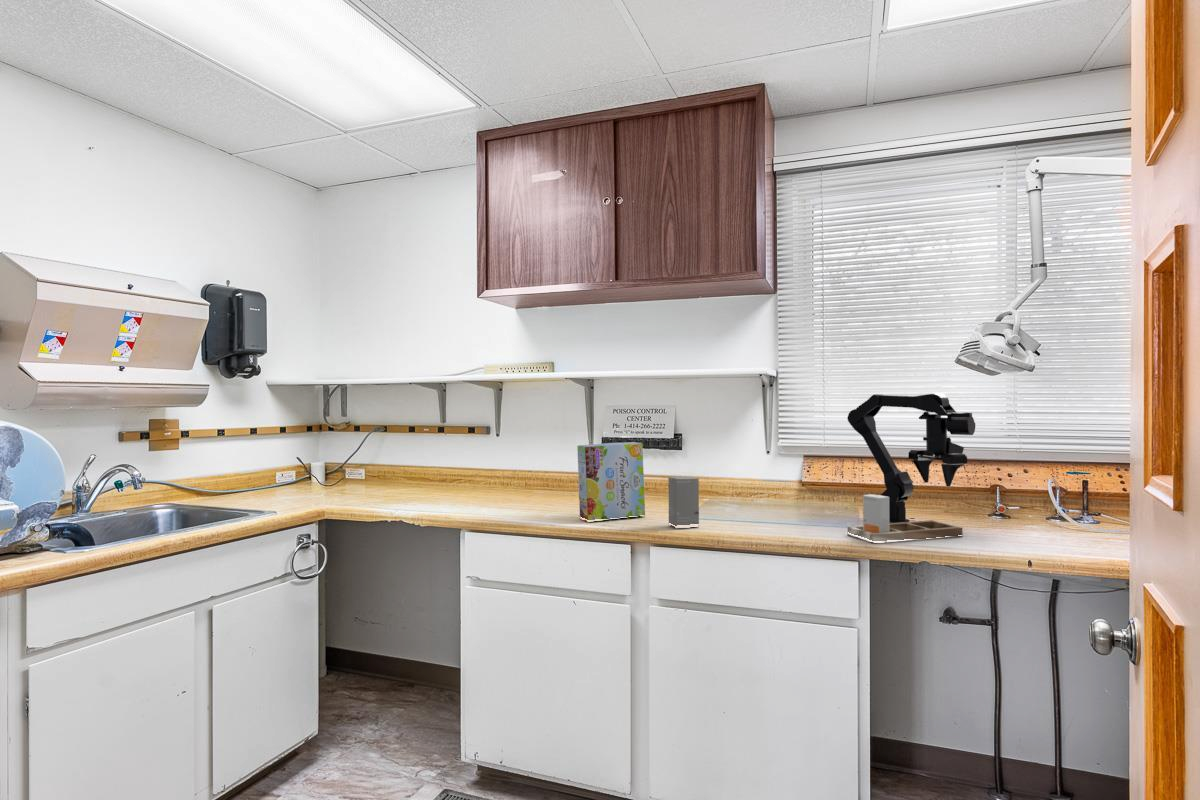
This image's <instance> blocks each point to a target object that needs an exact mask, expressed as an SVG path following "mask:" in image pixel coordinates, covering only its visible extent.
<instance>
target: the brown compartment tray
mask: <svg viewBox="0 0 1200 800" xmlns="http://www.w3.org/2000/svg"><path fill="white" fill-rule="evenodd" d="M889 525H890V532H883V533H870V532H867V531H864V530H863V524H862V525H851V526H850V525H849V526H847V527H846V528H847V533H848V532H849V533H851V534H854V535H858V536H861V537H864V538H867V539H869V540H872V541H887V540H904V539H926V538H936V537H945V536H958V535H963V533H964V532H963V527H961V526H957V525H953V524H950V523H949V524H948V523H946V522H941V521H937V520H931V519H929V520H917V521H903V522H889ZM926 540H927V539H926Z"/></svg>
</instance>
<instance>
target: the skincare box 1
mask: <svg viewBox="0 0 1200 800" xmlns="http://www.w3.org/2000/svg"><path fill="white" fill-rule="evenodd" d="M667 480H668V524H669V523H671V524H673V525H675V526H677V525H690V524H699V525H700V517H699V516H700V493H699V492H700V489H699V487H700V485H699V483H700V482H699V480H700V479H699V477H693V476H671V477H670V476H669V477H668V479H667Z"/></svg>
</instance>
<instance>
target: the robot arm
mask: <svg viewBox="0 0 1200 800" xmlns="http://www.w3.org/2000/svg"><path fill="white" fill-rule="evenodd" d="M882 407H888V408H889V407H891V408H892V407H895V408H897V407H898V408H910V409H911V408H912V409H916V410H920V411H923V413H922V414H921V415H920V416H918V419H919V420H925V429H926V431H925V435H926V436H923V437H922V438H923V439H922V440H923V441H925V442H926V444H925V447H926V449H921V448H920V449H911V450H910V451H908V459H909V460H911V462H912V463H913V464H914V466H915V468H916V469H917V471H918V472H919V474H920V476H921V478H922V480H923V482H924V483H929V480H930V465H931V464H932V462H933V460H937V461H941V462H942V463H941V464H940V465H941V470H942V474H943V479H944V483H945V486H946V487H950V486H952V483H953V479H954V477H955V475H956V473H957V470H958V469H960V468H961V467H964V465H965V464H968V456H967V455H966V454H965V453H963V452H964V450H965V447H964V446H961V445H960V444H956V443H954V442H952V439H951V437H948V432H949V434H950V435H955V436H961V435H962V436H973V435H974V434H975V432H976V422H975V419H974V417H973V412H969V411H968V412H957V411H956V410H955V409H954V408H953V406H952V405H951V404H950V400H949V397H947V396H946V394H945V393H927V394H922V395H920V394H919V395H894V394H893V395H890V394H887V395H886V394H880V393H878V394H872V395H870V397H869V398H868V399H866V400H865V401H864V402H863V403H861V404H860V405H858V406H857V407H856V408H854V409H851V410H850V411H849V413H848V415H847V417H846V418H847V423H849V425H850V426H851V427H852V429H853V430H854V431H855V432H857V433H858V435H860V436H862V438H863V440H864V441H865V443H866V445H867V447H868V449H869V451H870V452H871V454H872V457H874V460H875V461H876V463H877V465H878V467H879V469H880V471H881V472H882V475H883V482H884V486H885V490H884V491H883V492H882V493H881V494H880V495H882V496H887V497H889V523H901V522H910V519H909V518H907V516H906V512H907V510H906V502H907V501H908V499H909V496H910V495H912V494H913V492H914V488H915V487H914V485H913V483H914V480H913V479H912V478H911V477H910V475H909V472H908V471H905V470H904V471H901V469H899V468H898V466H897V464H896V463H895V461H894V460H893V458H892V457H891V454H890V452H889V451H888V448H887V447H886V446H885V443H884V442H883V440H882V439H881V437H880V435H879V433H878V432H877V427H876V424H877V423H876V421H875V417H876V416H877V414H879V412H880V410H881V409H882Z"/></svg>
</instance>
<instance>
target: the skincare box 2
mask: <svg viewBox="0 0 1200 800" xmlns="http://www.w3.org/2000/svg"><path fill="white" fill-rule="evenodd" d="M862 520H863V521H862V525H863V530H864V531H867V532H870V533H883V532H890V525H889V523H890V521H889V497H887V496H882V495H881V494H863V496H862Z"/></svg>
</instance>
